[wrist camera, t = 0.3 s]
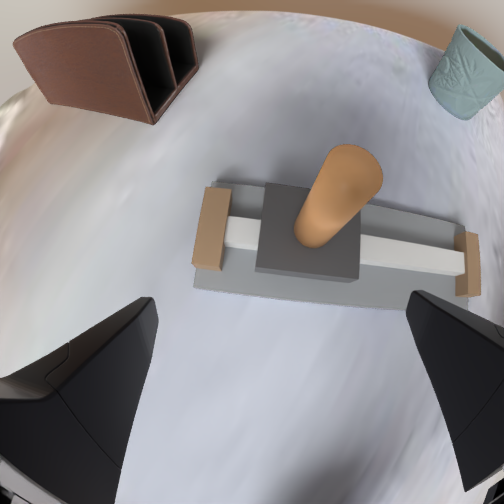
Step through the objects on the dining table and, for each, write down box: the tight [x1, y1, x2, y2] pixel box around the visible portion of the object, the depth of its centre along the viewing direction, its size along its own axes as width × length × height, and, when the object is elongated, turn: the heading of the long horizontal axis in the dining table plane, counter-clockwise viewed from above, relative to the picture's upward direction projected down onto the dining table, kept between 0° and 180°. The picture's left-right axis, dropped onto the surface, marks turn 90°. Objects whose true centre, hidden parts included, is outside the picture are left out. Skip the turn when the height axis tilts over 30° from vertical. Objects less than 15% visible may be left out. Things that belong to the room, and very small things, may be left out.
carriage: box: [255, 144, 383, 283], centre depth 16 cm, size 7×6×10 cm
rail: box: [192, 181, 481, 311], centre depth 22 cm, size 26×9×3 cm, turn 83°
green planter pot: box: [429, 25, 504, 120], centre depth 24 cm, size 10×10×12 cm
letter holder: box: [13, 14, 199, 125], centre depth 21 cm, size 10×20×14 cm, turn 67°
